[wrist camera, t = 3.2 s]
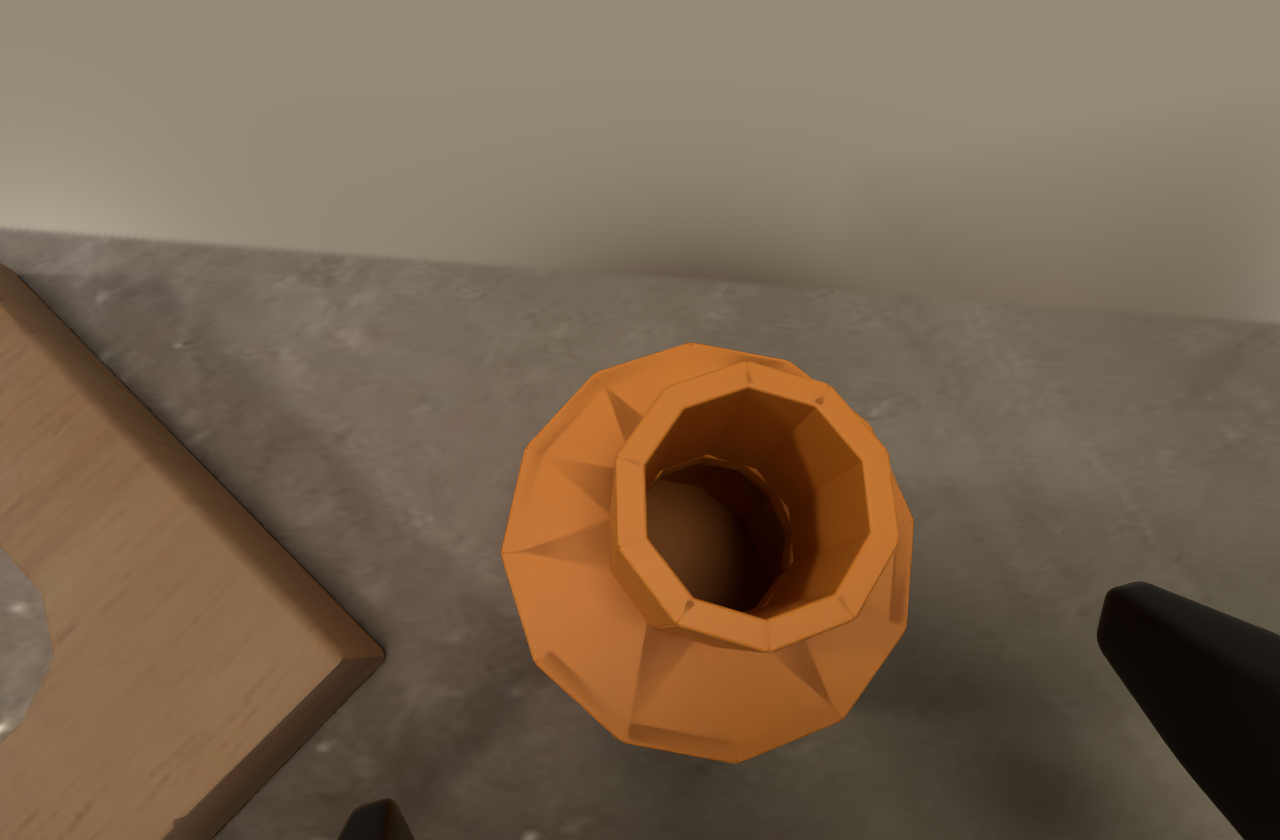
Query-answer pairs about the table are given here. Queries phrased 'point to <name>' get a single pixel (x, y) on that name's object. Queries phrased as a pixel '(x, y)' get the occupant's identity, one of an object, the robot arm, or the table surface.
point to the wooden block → (146, 611)
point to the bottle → (709, 552)
